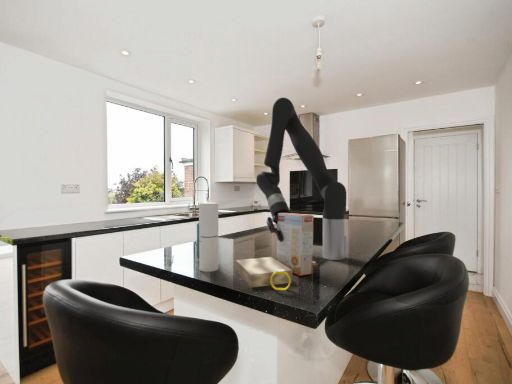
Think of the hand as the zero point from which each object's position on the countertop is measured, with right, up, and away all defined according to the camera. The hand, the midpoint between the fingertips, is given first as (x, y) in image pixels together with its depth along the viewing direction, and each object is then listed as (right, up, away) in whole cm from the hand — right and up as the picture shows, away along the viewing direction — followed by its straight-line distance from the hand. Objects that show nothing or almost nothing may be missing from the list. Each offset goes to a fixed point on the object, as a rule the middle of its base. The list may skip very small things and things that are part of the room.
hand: (290, 239), depth 101 cm
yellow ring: (-6, -11, -20) cm, 24 cm away
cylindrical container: (-31, -11, +1) cm, 33 cm away
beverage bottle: (-35, -11, +12) cm, 39 cm away
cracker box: (+1, -11, -2) cm, 11 cm away
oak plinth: (-11, -11, -8) cm, 17 cm away
